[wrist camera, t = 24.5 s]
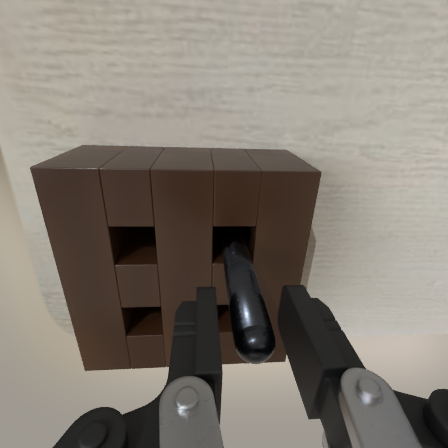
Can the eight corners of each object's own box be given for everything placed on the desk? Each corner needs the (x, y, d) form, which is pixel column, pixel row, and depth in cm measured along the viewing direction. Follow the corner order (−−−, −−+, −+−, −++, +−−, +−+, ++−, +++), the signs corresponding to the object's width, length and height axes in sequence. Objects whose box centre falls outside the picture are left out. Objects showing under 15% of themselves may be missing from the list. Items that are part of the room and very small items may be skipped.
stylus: (215, 214, 20) (235, 374, 9) (215, 196, 20) (237, 343, 8) (234, 214, 21) (278, 372, 9) (235, 196, 20) (283, 341, 8)
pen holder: (111, 307, 23) (84, 371, 18) (82, 145, 18) (29, 167, 12) (266, 303, 24) (285, 362, 19) (286, 149, 19) (322, 171, 13)
